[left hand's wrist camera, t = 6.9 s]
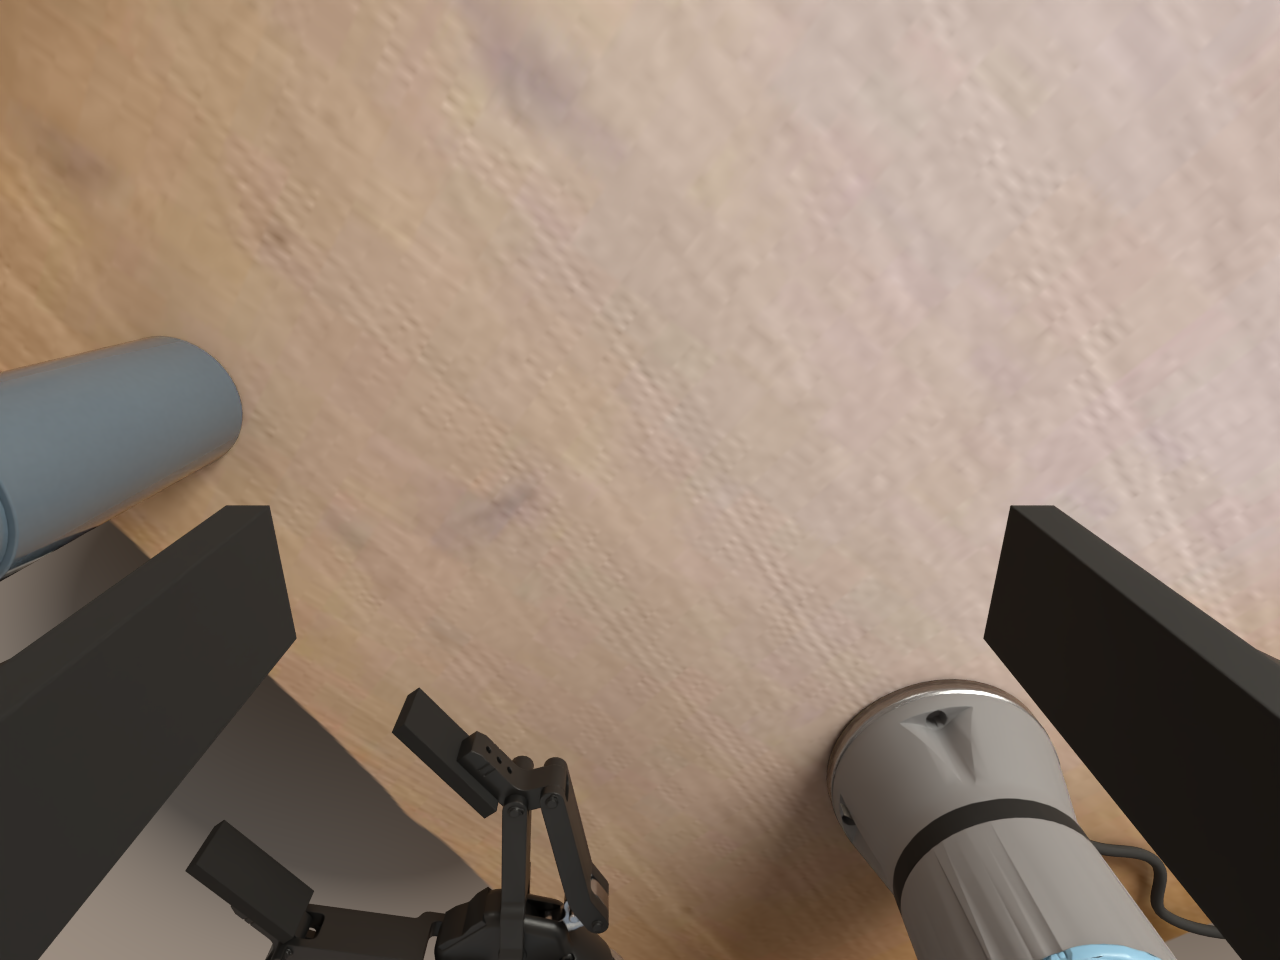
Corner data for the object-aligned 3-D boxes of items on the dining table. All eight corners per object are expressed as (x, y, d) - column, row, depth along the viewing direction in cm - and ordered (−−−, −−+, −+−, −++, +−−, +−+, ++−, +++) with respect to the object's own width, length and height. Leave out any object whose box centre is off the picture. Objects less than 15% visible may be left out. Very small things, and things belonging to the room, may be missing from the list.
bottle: (262, 380, 40) (-124, 542, 20) (217, 487, 42) (-170, 731, 22) (130, 309, 39) (-428, 407, 19) (91, 424, 41) (-443, 623, 21)
